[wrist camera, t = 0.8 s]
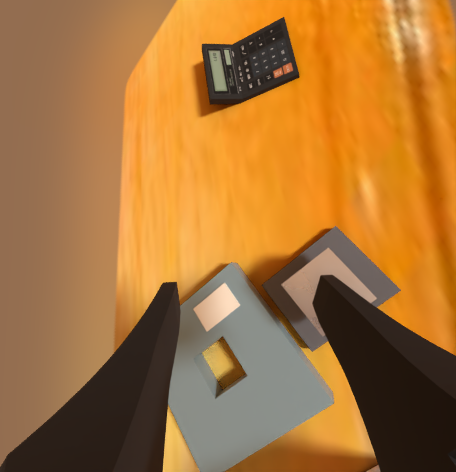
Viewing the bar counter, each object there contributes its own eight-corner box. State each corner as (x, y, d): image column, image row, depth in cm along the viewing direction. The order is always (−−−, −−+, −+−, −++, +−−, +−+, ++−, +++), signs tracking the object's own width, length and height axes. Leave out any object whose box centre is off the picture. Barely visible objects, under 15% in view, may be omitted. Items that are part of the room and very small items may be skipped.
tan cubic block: (364, 293, 21) (377, 298, 17) (321, 323, 22) (322, 336, 18) (326, 252, 23) (328, 247, 19) (288, 282, 24) (281, 284, 19)
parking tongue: (397, 289, 21) (401, 290, 20) (312, 348, 23) (312, 351, 22) (335, 227, 24) (335, 226, 23) (263, 285, 26) (261, 285, 25)
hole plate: (332, 392, 22) (334, 404, 20) (213, 467, 25) (204, 485, 23) (236, 263, 28) (230, 262, 26) (149, 337, 31) (137, 341, 29)
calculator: (299, 79, 29) (297, 58, 26) (216, 115, 32) (207, 100, 30) (284, 23, 31) (281, -2, 28) (208, 63, 35) (199, 45, 32)
